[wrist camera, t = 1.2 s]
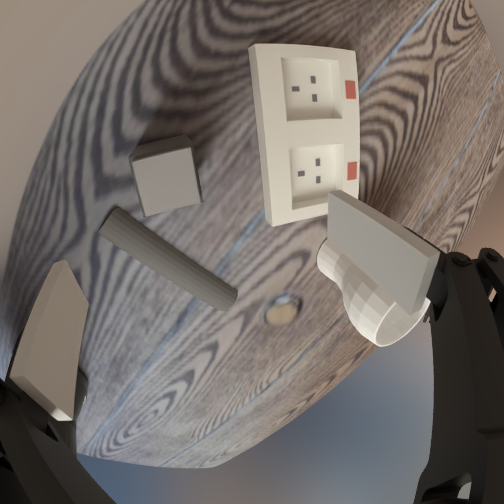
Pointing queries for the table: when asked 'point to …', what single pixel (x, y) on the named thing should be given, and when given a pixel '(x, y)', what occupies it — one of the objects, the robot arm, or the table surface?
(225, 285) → the gray half cylinder
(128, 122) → the table surface
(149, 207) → the plug
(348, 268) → the cup
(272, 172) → the socket plate
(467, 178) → the table surface
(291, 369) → the table surface
